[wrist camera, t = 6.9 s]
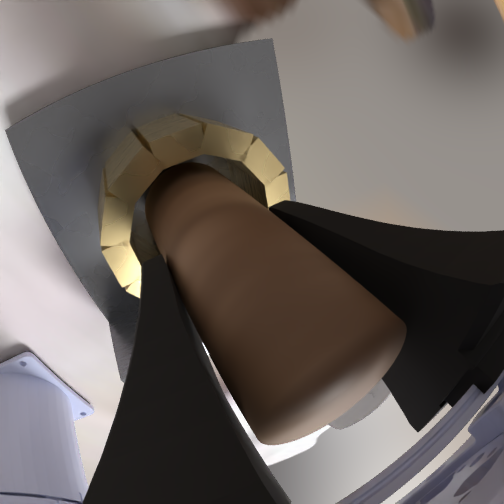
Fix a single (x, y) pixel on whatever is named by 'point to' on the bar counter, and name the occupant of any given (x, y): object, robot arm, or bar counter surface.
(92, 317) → the bar counter surface
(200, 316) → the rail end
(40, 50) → the bar counter surface
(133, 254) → the cup bracket
